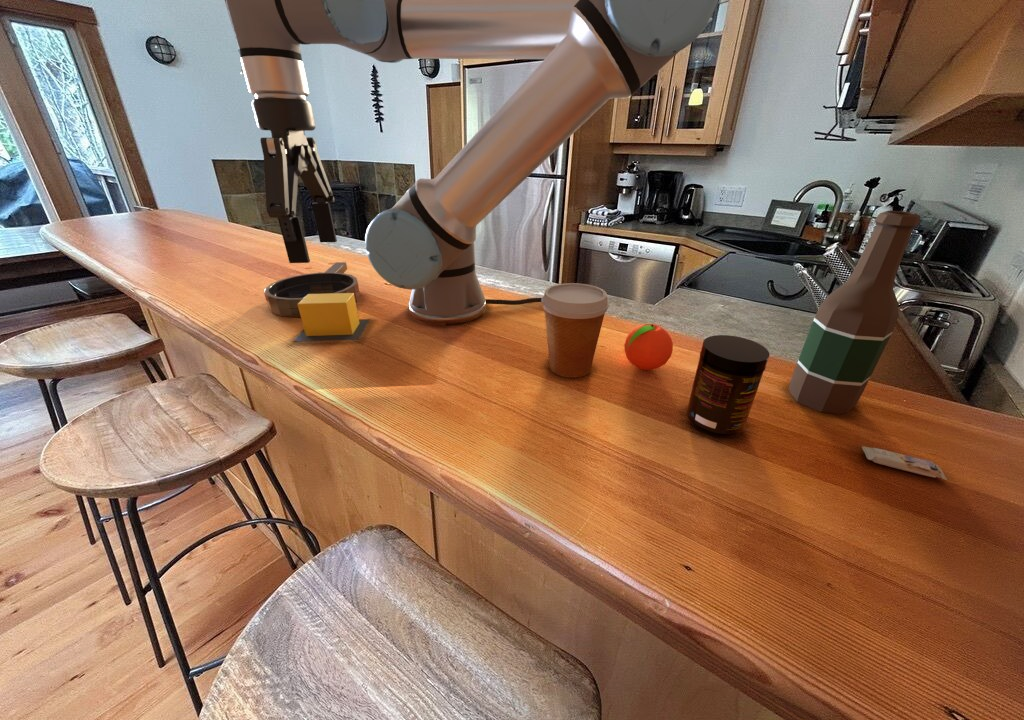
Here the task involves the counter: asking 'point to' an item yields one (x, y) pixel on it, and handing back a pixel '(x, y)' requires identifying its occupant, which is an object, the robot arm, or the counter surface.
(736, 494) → the counter surface
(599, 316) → the disposable coffee cup
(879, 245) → the beer bottle
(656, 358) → the clementine
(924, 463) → the granola bar
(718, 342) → the supplement container
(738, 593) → the counter surface
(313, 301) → the sponge
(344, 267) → the pan handle
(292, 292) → the pan
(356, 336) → the mat
